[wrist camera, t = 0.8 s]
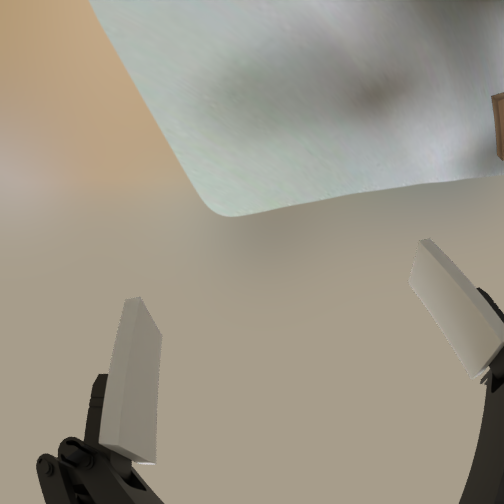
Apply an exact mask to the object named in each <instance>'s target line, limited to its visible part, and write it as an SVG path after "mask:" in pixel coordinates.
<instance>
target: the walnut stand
mask: <svg viewBox="0 0 504 504" xmlns="http://www.w3.org/2000/svg"><path fill="white" fill-rule="evenodd" d="M491 97H492V104H493V111H494V119H495V128H496V141H497V155H498V156H499V157H500V159H501V160H502V161H503V160H504V93H500V94H497V95H494V96H491Z"/></svg>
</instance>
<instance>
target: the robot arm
mask: <svg viewBox="0 0 504 504" xmlns="http://www.w3.org/2000/svg"><path fill="white" fill-rule="evenodd" d="M408 283H409V285H410V286H411V288H412V289H413V290H414V292H415V293H416V295H417V296H418V297H419V299H420V300H421V301H422V303H423V304H424V306H425V307H426V309H427V310H428V311H429V313H430V314H431V316H432V317H433V319H434V320H435V322H436V323H437V325H438V326H439V328H440V329H441V331H442V332H443V334H444V335H445V337H446V338H447V340H448V341H449V343H450V345H451V346H452V348H453V350H454V351H455V353H456V355H457V356H458V358H459V360H460V361H461V363H462V365H463V366H464V368H465V370H466V372H467V373H468V375H469V377H470V379H471V380H472V379H474V378H475V377H477V376H479V375H480V374H482V373H483V371H484V370H485V369H486V368H487V367H488V366H489V367H490V370H489V371H488V372H487V373H486V374H485V376H484V377H483V378H482V379H481V382H480V384H482V383H483V382H484V381H485V380H486V379H487V381H486V382H485V385H487V389H486V399H485V406H484V413H483V418H482V424H481V429H480V434H479V439H478V444H477V448H476V452H475V456H474V459H473V463H472V467H471V470H470V473H469V477H468V479H467V482H466V485H465V488H464V491H463V494H462V497H461V499H460V502H459V504H504V314H503V312H502V311H501V310H500V309H499V308H498V306H497V305H496V303H494V301H493V300H492V298H491V297H490V296H489V295H488V294H487V293H486V292H485V291H483V290H482V289H480V288H475V286H474V285H473V284H472V283H471V282H470V281H469V279H468V278H467V277H466V276H465V275H464V274H463V273H462V272H461V270H460V269H459V268H458V267H457V266H456V265H455V264H454V263H453V262H452V261H451V260H450V259H449V257H448V256H447V255H446V254H445V253H444V252H443V251H442V250H441V249H440V248H439V247H438V246H437V245H436V244H435V243H434V242H433V241H432V240H431V239H430V238H429V239H424V240H421V241H419V242H418V246H417V250H416V254H415V259H414V262H413V266H412V270H411V274H410V278H409V281H408ZM161 343H162V334H161V333H160V331H159V329H158V328H157V326H156V324H155V322H154V321H153V319H152V317H151V315H150V313H149V312H148V310H147V308H146V306H145V304H144V302H143V301H142V299H141V297H137V298H131V299H126V300H125V303H124V307H123V311H122V315H121V319H120V323H119V327H118V331H117V336H116V340H115V344H114V349H113V353H112V358H111V363H110V369H109V374H99V375H98V377H97V379H96V380H95V382H94V384H93V387H92V393H91V399H90V403H89V406H90V408H89V409H88V415H87V422H86V429H85V437H84V442H83V441H81V440H80V439H77V438H76V437H68V438H66V439H64V440H63V441H62V442H61V443H60V446H59V448H58V457H57V458H56V457H54V456H52V455H50V454H43V455H41V456H40V457H39V459H38V460H37V464H36V469H37V474H38V478H39V482H40V486H41V489H42V493H43V496H44V499H45V502H46V504H164V503H163V502H162V501H161V500H160V498H158V496H157V495H156V494H155V493H154V492H153V491H152V490H151V488H150V487H149V486H148V485H147V484H146V483H145V481H144V480H143V479H142V478H141V477H140V475H139V474H138V473H137V472H136V470H135V469H134V468H133V467H132V466H131V465H132V464H131V463H132V462H131V461H134V462H136V463H138V464H156V424H157V422H156V421H157V397H158V381H159V367H160V354H161Z"/></svg>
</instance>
